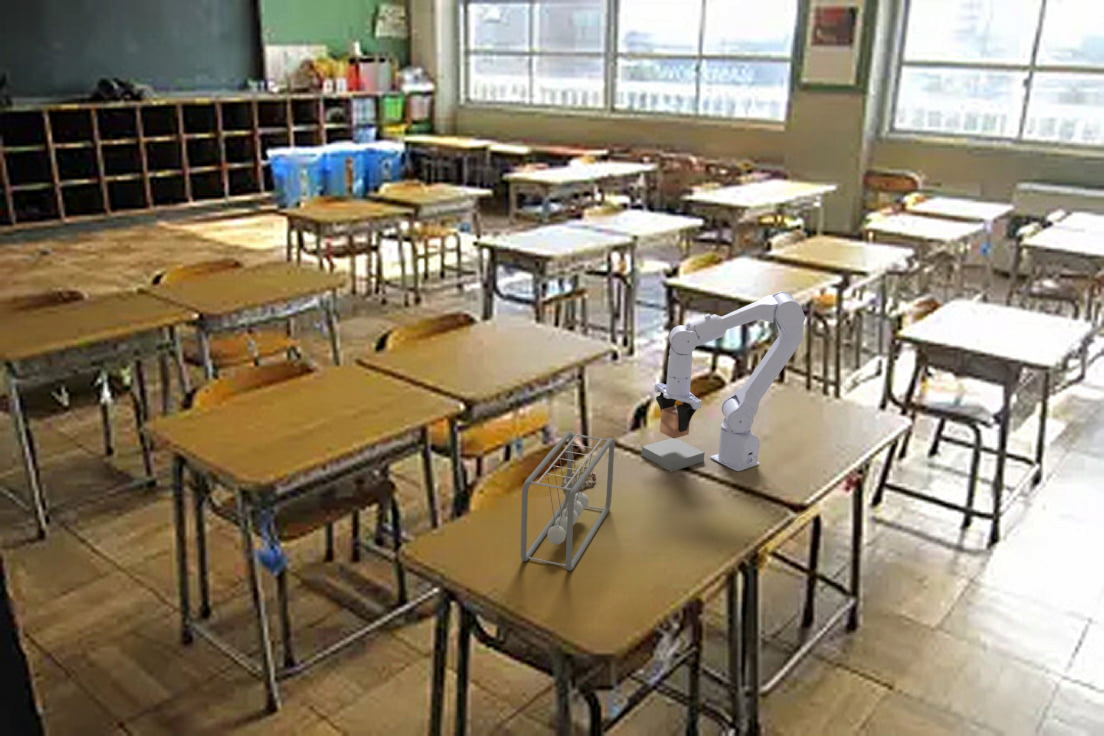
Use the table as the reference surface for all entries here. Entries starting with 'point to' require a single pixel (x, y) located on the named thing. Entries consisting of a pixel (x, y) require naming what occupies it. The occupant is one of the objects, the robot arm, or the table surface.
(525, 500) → the newton's cradle
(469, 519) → the table surface
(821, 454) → the table surface
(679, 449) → the gray plinth
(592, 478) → the mineral rock
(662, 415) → the terracotta cube
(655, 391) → the robot arm
